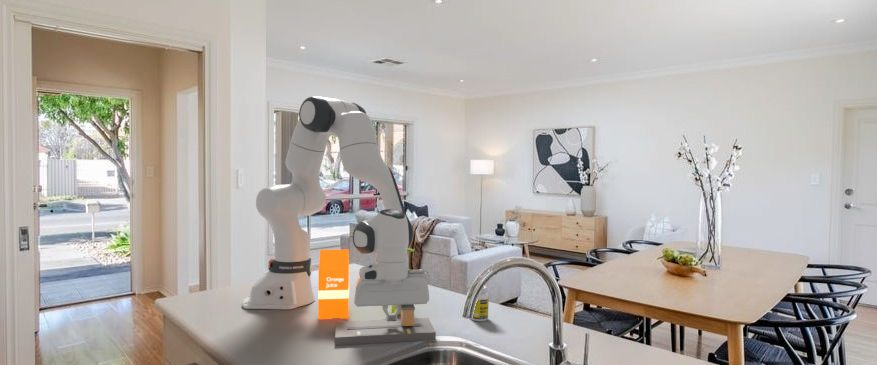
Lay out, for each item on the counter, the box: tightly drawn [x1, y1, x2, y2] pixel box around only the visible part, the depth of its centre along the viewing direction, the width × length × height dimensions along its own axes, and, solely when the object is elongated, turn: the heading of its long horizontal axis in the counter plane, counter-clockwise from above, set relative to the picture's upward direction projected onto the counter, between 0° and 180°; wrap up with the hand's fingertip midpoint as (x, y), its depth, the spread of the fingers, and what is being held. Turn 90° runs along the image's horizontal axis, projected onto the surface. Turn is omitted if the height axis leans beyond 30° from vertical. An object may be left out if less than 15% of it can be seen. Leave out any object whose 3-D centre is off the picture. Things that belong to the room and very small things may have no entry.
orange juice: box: [317, 248, 350, 320], centre depth 146 cm, size 8×9×20 cm
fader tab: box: [400, 304, 416, 326], centre depth 132 cm, size 3×5×5 cm, turn 10°
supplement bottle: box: [471, 285, 490, 322], centre depth 145 cm, size 5×5×10 cm
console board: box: [334, 317, 437, 346], centre depth 131 cm, size 26×12×2 cm, turn 100°
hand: (391, 320), depth 131 cm, fingers closed
